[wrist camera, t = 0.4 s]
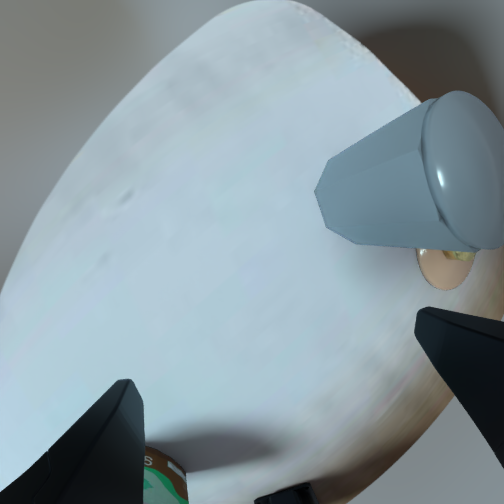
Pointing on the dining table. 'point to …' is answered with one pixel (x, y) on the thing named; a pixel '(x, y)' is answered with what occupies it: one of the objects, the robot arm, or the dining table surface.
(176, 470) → the food container
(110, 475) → the robot arm
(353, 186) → the blue-gray container
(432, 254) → the terracotta coaster
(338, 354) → the dining table surface
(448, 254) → the cylinder
